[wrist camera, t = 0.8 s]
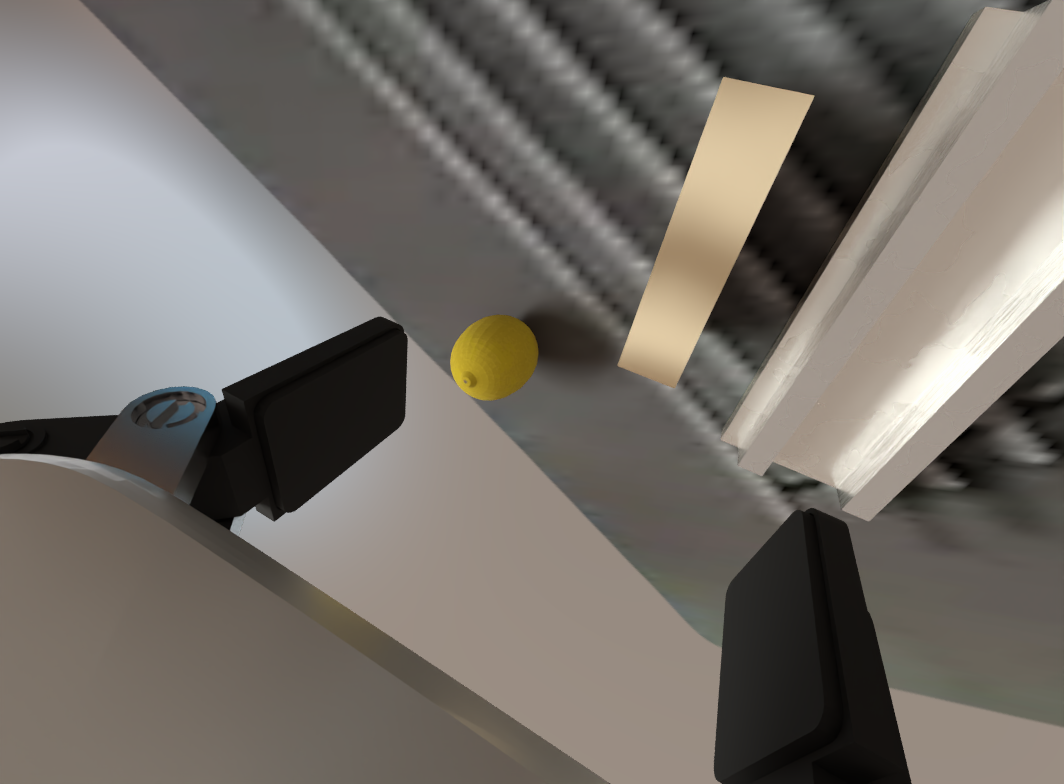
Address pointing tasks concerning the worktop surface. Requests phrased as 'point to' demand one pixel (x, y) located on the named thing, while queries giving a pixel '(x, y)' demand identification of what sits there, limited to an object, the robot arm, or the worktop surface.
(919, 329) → the bottom track
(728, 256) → the tan wooden block
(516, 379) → the lemon
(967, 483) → the worktop surface
